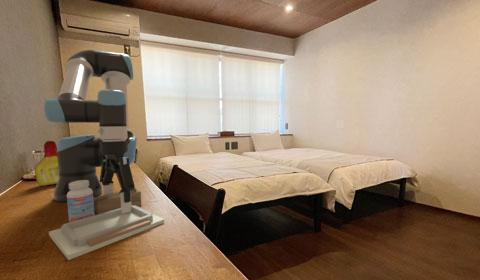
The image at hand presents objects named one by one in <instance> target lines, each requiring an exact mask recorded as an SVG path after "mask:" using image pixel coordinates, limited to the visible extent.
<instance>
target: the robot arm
mask: <svg viewBox="0 0 480 280" xmlns="http://www.w3.org/2000/svg"><path fill="white" fill-rule="evenodd" d="M65 71H66V73H65V76H64V79H63V81H62V84H61V88H60V91H59V94H58V97H57V98H56V97H55V98H48V99H46V100H45V102H44V105H43V106H44V108H43V109H44V115H45V118H46V120H47V121H49V122H51V123H62V124H67V123H70V124H71V123H75V124H77V123H80V124H81V123H83V124H84V123H89V124H91V123H98V124H99V130H97V134H99V137H96V136H95V134H93V133H92V134H84V135H83V134H82V135H76V136H75V135H74V136H68V137H61V138H60V139H58V141H57V142H56V146H57V155H58V169H59V180H58V183H57V184H56V187H55V189H54V192H53V200H54V201H55V202H63V203H65V202H66V203H67V193H68V192H69V191H71V189H69V183H71V182H74V181H80V180H88V181H89V186H88V188H91V189H92V191H93V198H94V197H98V196H99V195H100V196H101V194H102V193H103V195H108V194H113V193H114V185H113V184H114V181H113V178H114V176H115V175H116V178H117V180H118V183H119V186H120V190H119V192H120V197H121V214H125V213H128V212H131V211H132V209H131V190H133V189H135V188H136V186H135V183H134V179H133V178H134V177H133V174H132V169H131V166H130V165H132V164H134V163H135V159H136V152H137V142H138V140H137V139H138V137H137V136H134V133H133V131H131V130H130V128H129V123H130V122H129V106H128V105H129V104H128V103H129V102H128V85H129V84H130V82H131V81H132V80H133V79H134V69H133V63H132V59H131V57H130V55H128V54H126V53H121V52H111V51H104V50H97V49H85V50H82V51H78V52H76V53H74V54H73V55H71V56H70V57H69V58H68V59H67V61H66V64H65ZM92 77H95V78H100V79H101V81H102V82H103V83H104V84H105V85H104V87H105V89H100V90H99V91H98V92H97V100H95V99H94V100H93V99H92V100H90V99H87V94H88V88H89V83H90V79H91V78H92ZM97 168H100V174H99V176H100V177H98V174H97ZM103 195H102V196H103Z"/></svg>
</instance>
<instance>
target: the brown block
mask: <svg viewBox="0 0 480 280" xmlns="http://www.w3.org/2000/svg"><path fill="white" fill-rule="evenodd" d="M93 201H94V214H95V215H98V214H101V213H105V212H108V211H112V210H115V209H119V208H121V197H120V191H117V192H113V194H108V195H100V196H99V195H98V196H95V197H93ZM131 205H133V206H134V205H136V206H138V207H141V206H142V192H141V190H138V189H137V188H136V187H135V189H133V190H131Z"/></svg>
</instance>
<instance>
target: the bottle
mask: <svg viewBox="0 0 480 280" xmlns="http://www.w3.org/2000/svg"><path fill="white" fill-rule="evenodd" d="M43 150H44V153H43V158H41V159H40V160H39V161H38V162H37V164H36V165H35V168H34V172H35V173H34V174H35V178H36V179H35V180H36V182H37V185H39V186H40V187H42V186H49V185H55V184H56V185H57V183H58V180H59V169H58V155H57V142H56V141H53V140H47V141H45V143H44V144H43Z"/></svg>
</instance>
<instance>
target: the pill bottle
mask: <svg viewBox="0 0 480 280" xmlns="http://www.w3.org/2000/svg"><path fill="white" fill-rule="evenodd" d="M88 186H89V181H88V180H80V181H74V182H71V183H69V189H71V191H69V192H68V193H67V202H66V204H67V213H68V215H67V216H68V223H70V222H73V221H77V220H80V219H84V218H87V217H91V216H94V215H95V214H94V201H93V198H94V197H93V191H92V189H91V188H88Z"/></svg>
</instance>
